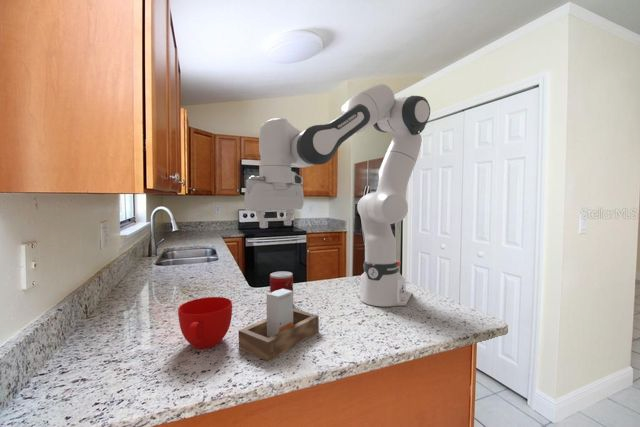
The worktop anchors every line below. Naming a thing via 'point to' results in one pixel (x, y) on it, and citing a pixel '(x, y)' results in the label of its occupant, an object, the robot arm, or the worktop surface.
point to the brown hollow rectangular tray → (277, 336)
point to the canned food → (281, 281)
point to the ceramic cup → (205, 321)
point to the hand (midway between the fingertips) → (276, 226)
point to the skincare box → (279, 311)
